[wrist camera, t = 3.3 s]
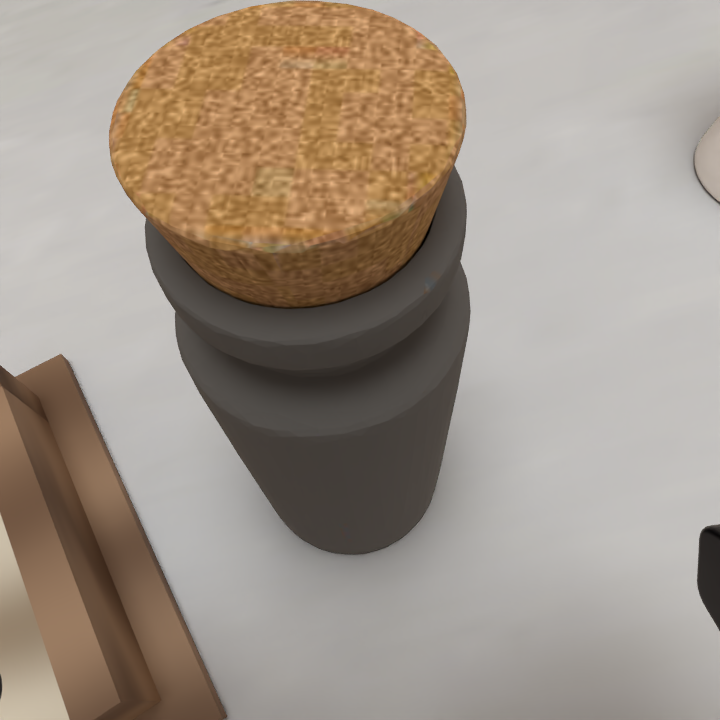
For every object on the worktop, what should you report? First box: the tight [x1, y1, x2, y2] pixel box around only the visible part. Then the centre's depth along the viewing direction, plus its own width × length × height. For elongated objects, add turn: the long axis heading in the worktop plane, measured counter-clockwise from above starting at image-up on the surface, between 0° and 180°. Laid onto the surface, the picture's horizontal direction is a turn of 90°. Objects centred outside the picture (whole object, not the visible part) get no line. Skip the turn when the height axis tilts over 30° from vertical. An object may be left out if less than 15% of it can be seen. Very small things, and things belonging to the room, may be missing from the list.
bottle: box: [109, 1, 470, 554], centre depth 15 cm, size 6×6×15 cm
